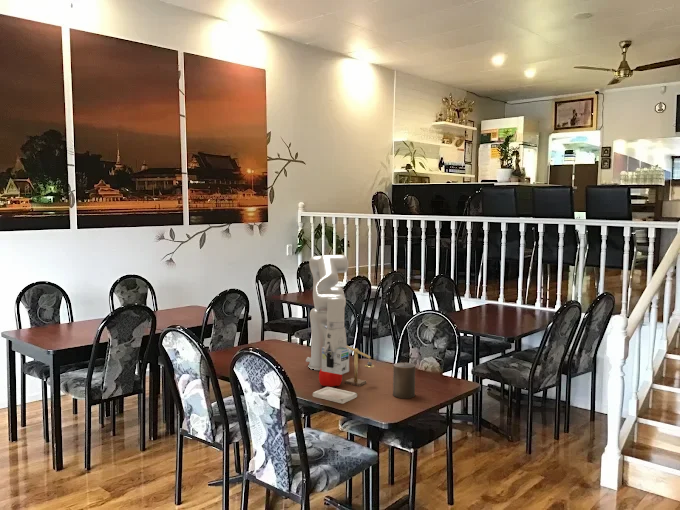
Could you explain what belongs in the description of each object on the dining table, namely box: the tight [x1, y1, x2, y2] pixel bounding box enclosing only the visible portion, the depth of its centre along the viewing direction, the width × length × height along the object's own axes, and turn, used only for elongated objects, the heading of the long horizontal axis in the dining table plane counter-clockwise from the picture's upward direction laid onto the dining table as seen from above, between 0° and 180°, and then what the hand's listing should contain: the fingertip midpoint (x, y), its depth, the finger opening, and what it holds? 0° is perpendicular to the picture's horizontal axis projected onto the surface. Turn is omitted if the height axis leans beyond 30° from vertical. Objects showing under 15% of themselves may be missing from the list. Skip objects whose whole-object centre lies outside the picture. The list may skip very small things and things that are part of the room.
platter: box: [312, 386, 358, 404], centre depth 260 cm, size 16×11×2 cm
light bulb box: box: [321, 346, 350, 376], centre depth 259 cm, size 11×7×11 cm, turn 57°
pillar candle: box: [392, 361, 416, 399], centre depth 263 cm, size 10×10×15 cm
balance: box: [344, 345, 376, 387], centre depth 280 cm, size 20×6×18 cm, turn 55°
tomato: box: [318, 369, 343, 388], centre depth 276 cm, size 11×12×9 cm
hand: (335, 365), depth 259 cm, fingers closed on light bulb box, 6 cm apart
